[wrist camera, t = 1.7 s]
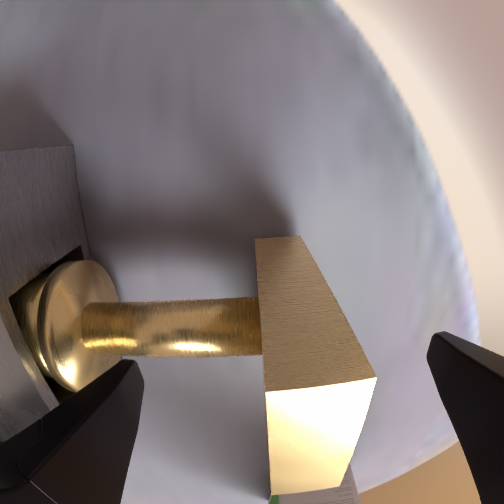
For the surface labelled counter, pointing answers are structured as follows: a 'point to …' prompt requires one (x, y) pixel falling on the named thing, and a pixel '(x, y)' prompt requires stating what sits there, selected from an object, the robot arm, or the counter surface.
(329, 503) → the skincare box
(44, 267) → the housing
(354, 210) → the counter surface
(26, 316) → the brass door handle
